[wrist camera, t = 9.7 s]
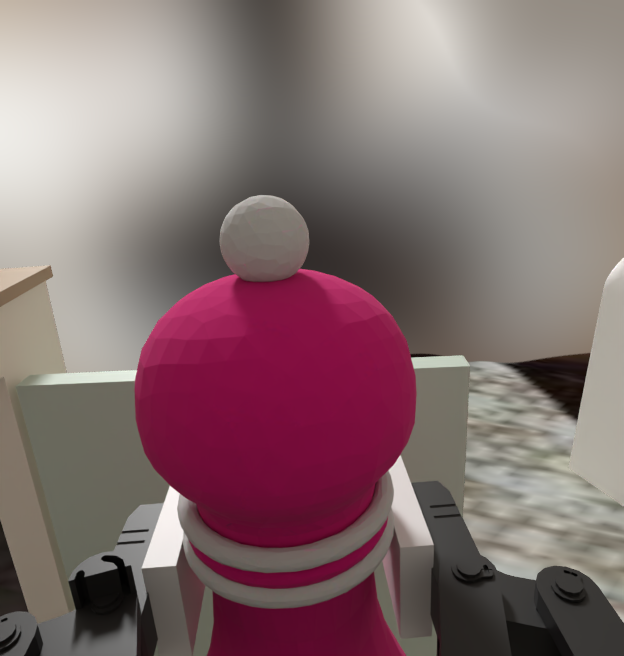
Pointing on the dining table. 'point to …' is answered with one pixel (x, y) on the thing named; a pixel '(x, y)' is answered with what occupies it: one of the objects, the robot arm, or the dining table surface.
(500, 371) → the dining table surface
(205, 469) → the pepper mill
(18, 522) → the door frame
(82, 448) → the door
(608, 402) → the milk
